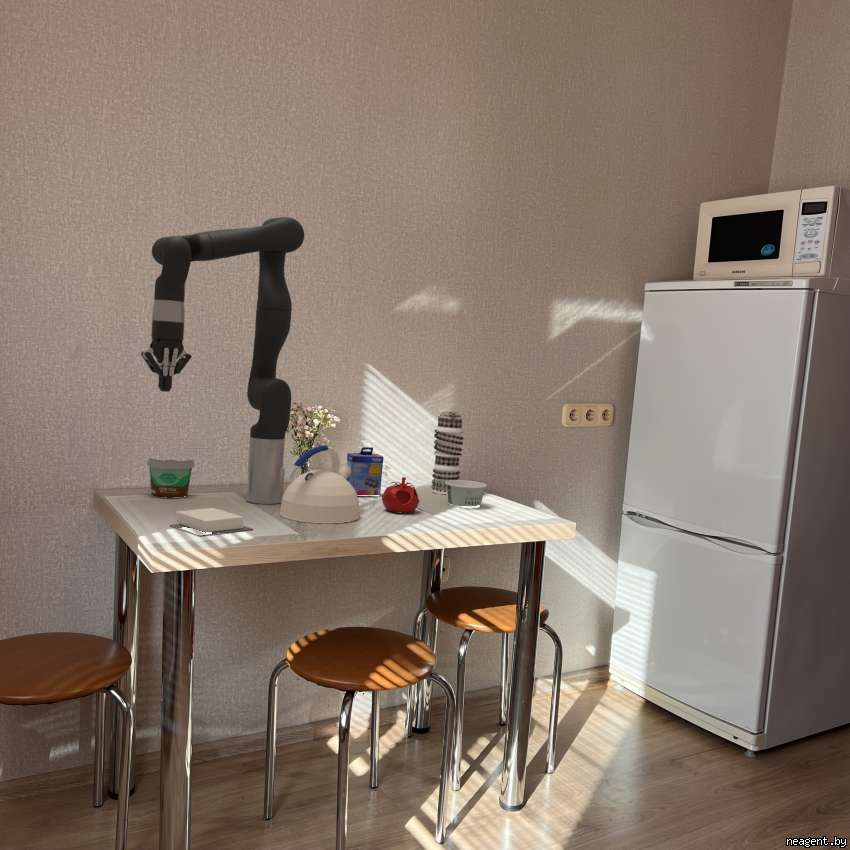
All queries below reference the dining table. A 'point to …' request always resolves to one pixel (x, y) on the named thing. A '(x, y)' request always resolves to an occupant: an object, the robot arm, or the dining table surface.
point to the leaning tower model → (447, 450)
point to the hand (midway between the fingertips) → (164, 391)
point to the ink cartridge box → (365, 471)
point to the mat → (219, 531)
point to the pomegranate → (400, 497)
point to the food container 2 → (465, 492)
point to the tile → (209, 520)
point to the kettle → (321, 493)
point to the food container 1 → (170, 477)
